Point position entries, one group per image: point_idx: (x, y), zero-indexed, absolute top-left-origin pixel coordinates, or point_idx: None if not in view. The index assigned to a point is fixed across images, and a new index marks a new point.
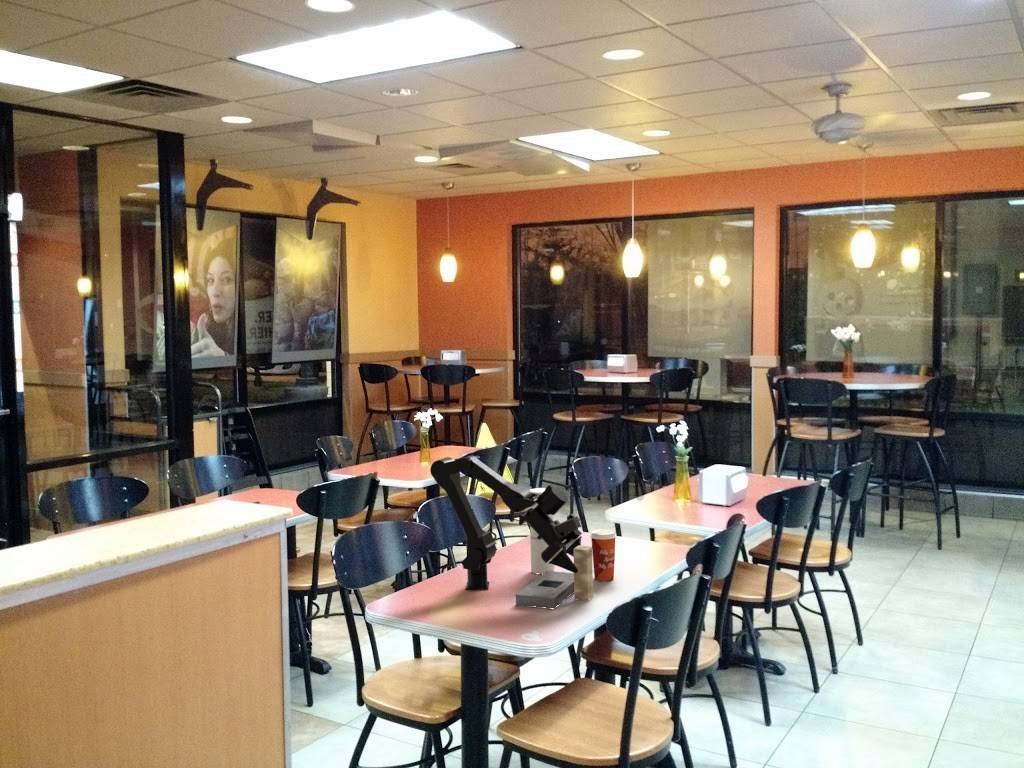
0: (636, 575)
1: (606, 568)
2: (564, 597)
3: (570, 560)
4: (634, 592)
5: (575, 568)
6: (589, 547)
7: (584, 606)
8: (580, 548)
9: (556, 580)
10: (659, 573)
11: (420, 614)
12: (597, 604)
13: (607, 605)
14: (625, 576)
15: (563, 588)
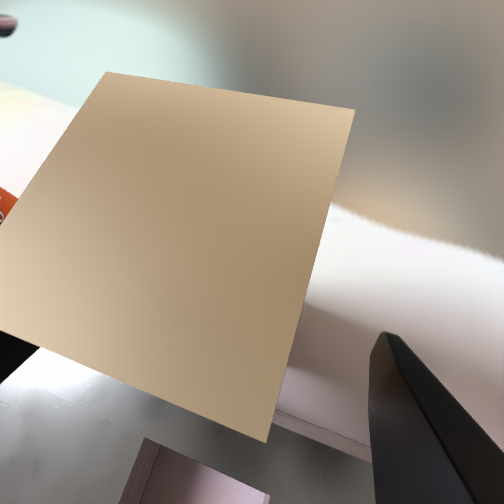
0: (14, 145)
1: (4, 207)
2: (302, 423)
3: (481, 463)
4: None
5: (419, 362)
6: (157, 96)
7: (380, 315)
8: (215, 245)
9: (106, 496)
10: (17, 91)
11: None
12: (344, 260)
13: (352, 223)
14: (13, 175)
15: (280, 442)
